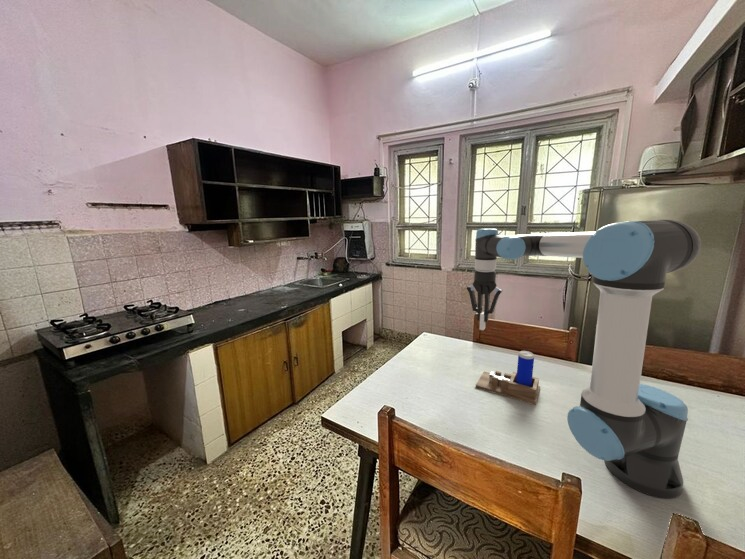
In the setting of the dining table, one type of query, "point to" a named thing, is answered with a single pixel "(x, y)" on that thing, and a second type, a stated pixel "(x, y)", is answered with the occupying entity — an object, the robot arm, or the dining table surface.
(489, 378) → the lock pin
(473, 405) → the dining table surface
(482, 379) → the mount
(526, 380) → the beverage can
